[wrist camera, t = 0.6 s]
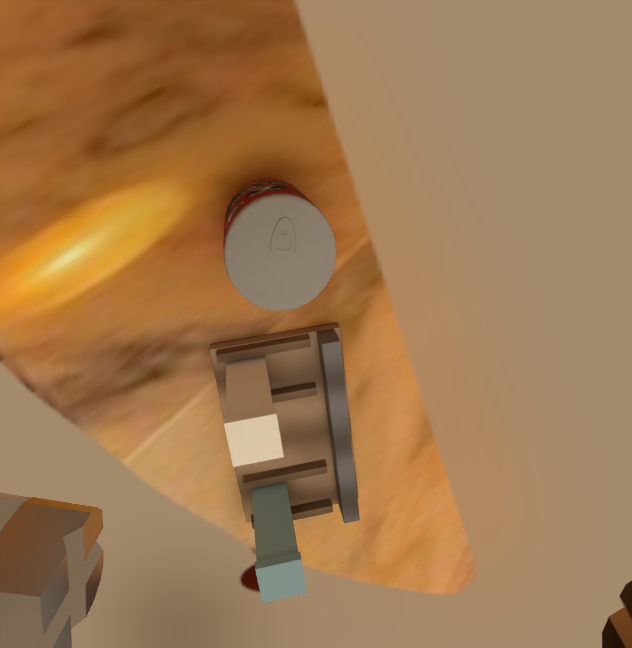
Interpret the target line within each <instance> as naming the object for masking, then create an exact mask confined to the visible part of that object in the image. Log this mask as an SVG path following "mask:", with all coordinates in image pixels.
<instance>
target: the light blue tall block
mask: <svg viewBox="0 0 632 648" xmlns="http://www.w3.org/2000/svg"><path fill="white" fill-rule="evenodd" d="M252 501H253V515H254V529H255V543H256V557H257V561H256V562H255V570H256V575H257V579H258V584H259V588H260V593H261V597H262V602H263V603H264V602H269V601H273V600H277V599H282V598H286V597H290V596H295V595H299V594H304V593H307V590H306V584H305V579H304V573H303V567H302V561H301V555H300V552H298V548H297V542H296V536H295V530H294V524H293V518H292V513H291V507H290V501H289V495H288V489H287V483H286V481H285V482H280V483H275V484H270V485H265V486H260V487H256V488H252Z"/></svg>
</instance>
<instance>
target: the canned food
mask: <svg viewBox="0 0 632 648" xmlns="http://www.w3.org/2000/svg"><path fill="white" fill-rule="evenodd" d="M335 261H336V243H335V237H334V234H333V232H332V229H331V226H330V224H329V222H328V221H327V219H326V217H325V216H324V214H323V213H322V212H321V211H320V210H319V209H318V208H317V207H316V206H315V205H314V204H313V203H312V202H311V201H310V200H309V199H308V198H307V197H305V196H304V195H303V194H302V193H301V192H300V191H299V190H297V189H296V188H295V187H293V186H292V185H290V184H288V183H286V182H283V181H279V180H275V179H264V180H259V181H255V182H253V183H251V184H249V185H247V186H245V187H244V188H243V189H241V190H240V191H239V192H238V193H237V194H236V195H235V197H234V198H233V199H232V201H231V203H230V204H229V206H228V209H227V212H226V215H225V222H224V262H225V266H226V270H227V273H228V275H229V277H230V279H231V281H232V283H233V285H234V286H235V288H236V289H237V290H238V292H239V293H240V294H241V295H242V296H243V297H244V298H245V299H247V300H248V301H250V302H251V303H253V304H255V305H256V306H259V307H262V308H265V309H269V310H276V311H281V310H290V309H294V308H298V307H300V306H302V305H304V304H306V303H308V302H310V301H311V300H312V299H314V298H315V297H316V296H317V295H318V294H319V293H320V292H321V291H322V290H323V289H324V287H325V286H326V284H327V283H328V281H329V280H330V277H331V275H332V273H333V270H334V266H335Z"/></svg>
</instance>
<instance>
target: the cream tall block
mask: <svg viewBox="0 0 632 648" xmlns="http://www.w3.org/2000/svg"><path fill="white" fill-rule="evenodd" d="M224 427H225V431H226V436H227V440H228V445H229V450H230V454H231V459H232V464H233V467H236V466H241V465H247V464H252V463H257V462H262V461H267V460H272V459H277V458H282V457H284V455H283V449H282V443H281V437H280V431H279V425H278V419H277V414H276V408H273V402H272V396H271V390H270V384H269V379H268V373H267V367H266V361H265V355H262V356H256V357H251V358H245V359H239V360H234V361H228V362H226V417H225V418H224Z"/></svg>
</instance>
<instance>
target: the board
mask: <svg viewBox="0 0 632 648" xmlns="http://www.w3.org/2000/svg"><path fill="white" fill-rule="evenodd" d="M210 354H211V358H212V363H213V368H214V372H215V377H216V382H217V386H218V391H219V396H220V400H221V405H222V410H223V414H224V418H225V417H226V362H228V361H234V360H239V359H245V358H251V357H256V356H262V355H265V361H266V367H267V373H268V379H269V384H270V390H271V396H272V402H273V408H276V414H277V419H278V425H279V431H280V437H281V443H282V449H283V455H284V457H282V458H277V459H272V460H267V461H262V462H257V463H252V464H247V465H241V466H236V467H235V470H236V475H237V479H238V484H239V489H240V493H241V498H242V503H243V507H244V512H245V517H246V521H247V522H251V521H252V527H253V529H254V515H253V501H252V488H256V487H260V486H265V485H270V484H275V483H280V482H285V481H286V483H287V489H288V495H289V501H290V507H291V513H292V518H293V520H297V519H302V518H306V517H311V516H316V515H321V514H325V513H330V512H333V507H332V505H333V504H337V503H338V504H339V507H340V510H341V514H342V517H343V520H344V523H348V522H353V521H357V520H360V518H359V509H358V500H357V499H358V490H357V481H356V471H355V462H354V453H353V444H352V435H351V425H350V416H349V407H348V398H347V388H346V379H345V370H344V361H343V352H342V342H341V333H340V327H339V325H338V323H333V324H327V325H321V326H315V327H309V328H304V329H298V330H292V331H286V332H280V333H275V334H269V335H263V336H257V337H251V338H245V339H240V340H234V341H228V342H222V343H216V344H210Z"/></svg>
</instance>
